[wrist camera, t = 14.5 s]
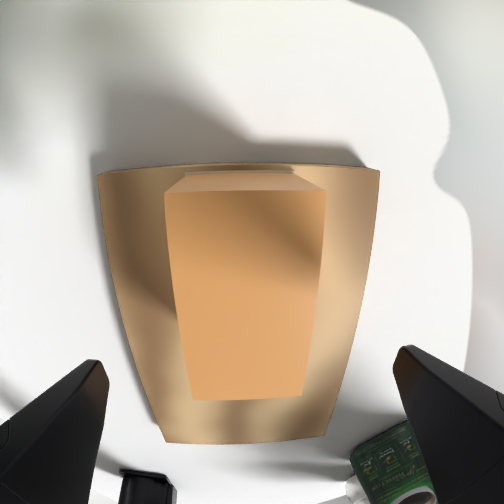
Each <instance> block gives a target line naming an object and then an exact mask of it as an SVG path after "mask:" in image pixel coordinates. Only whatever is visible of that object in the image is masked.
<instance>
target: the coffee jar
mask: <svg viewBox="0 0 504 504" xmlns="http://www.w3.org/2000/svg"><path fill="white" fill-rule="evenodd" d="M350 462H351V465H352V467H353V470H354V472H355V474H356V476H357V478H358V480H359V482H360V484H361V486H362V488H363V490H364V492H365V494H366V496H367V498H368V500H369V502H370V504H438V501H437V498H436V495H435V492H434V489H433V486H432V483H431V480H430V477H429V474H428V471H427V468H426V465H425V462H424V459H423V457H422V454H421V451H420V449H419V446H418V443H417V441H416V438H415V435H414V433H413V430H412V428H411V425H410V423H409V421H407V422H404V423H402V424H400V425H398V426H396V427H394V428H392V429H390V430H388V431H387V432H385V433H383V434H381V435H379V436H377V437H375V438H374V439H372V440H370V441H368V442H366V443H365V444H363V445H361V446H359V447H358V448H357V449H355V451H354V452H353V453H352V455H351V457H350Z"/></svg>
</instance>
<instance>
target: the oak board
mask: <svg viewBox="0 0 504 504" xmlns="http://www.w3.org/2000/svg"><path fill="white" fill-rule="evenodd" d="M232 170H284V171H296V175H298V176H300V177H302V178H303V179H305V180H307V181H309V182H311V183H313V184H315V185H317V186H318V187H320V188H322V189H324V190H326V191H327V196H326V211H325V225H324V237H323V248H322V258H321V268H320V277H319V286H318V294H317V302H316V310H315V317H314V325H313V331H312V338H311V345H310V351H309V357H308V363H307V369H306V375H305V381H304V386H303V392H302V395H300V396H291V397H280V398H268V399H251V400H193V398H192V393H191V389H190V384H189V379H188V374H187V369H186V364H185V359H184V354H183V348H182V342H181V337H180V331H179V325H178V318H177V312H176V305H175V298H174V291H173V284H172V276H171V268H170V259H169V250H168V240H167V229H166V218H165V205H164V193H165V192H166V191H167V190H168V189H170V188H171V187H172V186H173V185H175V184H176V183H177V182H178V181H180V180H181V179H182V178H184V177H185V172H199V171H232ZM379 179H380V171H379V170H375V169H371V168H366V167H354V166H340V165H323V164H300V163H213V164H189V165H173V166H159V167H147V168H136V169H126V170H117V171H109V172H105V173H102V174H99V175H98V187H99V196H100V205H101V213H102V221H103V228H104V234H105V241H106V247H107V252H108V258H109V263H110V268H111V273H112V278H113V283H114V287H115V292H116V296H117V300H118V304H119V308H120V312H121V316H122V320H123V324H124V327H125V331H126V334H127V338H128V341H129V345H130V348H131V351H132V354H133V358H134V361H135V364H136V367H137V370H138V373H139V376H140V379H141V381H142V384H143V387H144V390H145V392H146V395H147V398H148V400H149V403H150V406H151V408H152V411H153V413H154V416H155V418H156V420H157V423H158V425H159V428H160V430H161V432H162V434H163V437H164V439H165V441H166V442H167V443H182V444H252V443H267V442H278V441H288V440H296V439H304V438H311V437H317V436H324V434H325V431H326V429H327V426H328V423H329V420H330V417H331V414H332V412H333V409H334V406H335V402H336V399H337V396H338V393H339V390H340V387H341V383H342V380H343V377H344V373H345V370H346V366H347V362H348V359H349V355H350V351H351V347H352V344H353V340H354V335H355V331H356V327H357V323H358V318H359V314H360V309H361V305H362V300H363V295H364V290H365V285H366V279H367V274H368V268H369V262H370V256H371V249H372V242H373V235H374V228H375V220H376V211H377V202H378V191H379Z"/></svg>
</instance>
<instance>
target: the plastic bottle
mask: <svg viewBox="0 0 504 504" xmlns="http://www.w3.org/2000/svg"><path fill="white" fill-rule="evenodd" d="M346 494H347V496H348V498H349V500H350V502H351V503H352V504H370V502H369V500H368V498H367V496H366V494H365V492H364V490H363V488H362V486H361V484H360V482H359V480H358V478H357V476H356V475H354V476H352V477H351V478H349V479H348V481H347V483H346Z"/></svg>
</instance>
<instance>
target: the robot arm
mask: <svg viewBox="0 0 504 504" xmlns="http://www.w3.org/2000/svg"><path fill="white" fill-rule="evenodd" d="M393 374H394V377H395V380H396V384H397V387H398V390H399V393H400V397H401V400H402V404H403V407H404V410H405V413H406V415H407V418H408V420H409V423H410V425H411V428H412V430H413V433H414V435H415V438H416V441H417V443H418V446H419V449H420V451H421V454H422V457H423V459H424V462H425V465H426V468H427V471H428V474H429V477H430V480H431V483H432V486H433V489H434V492H435V495H436V498H437V501H438V504H504V394H502V393H500V392H498V391H495V390H494V389H493V388H491V387H489V386H487V385H485V384H483V383H482V382H480V381H478V380H476V379H474V378H472V377H470V376H468V375H467V374H465V373H463V372H461V371H460V370H458V369H456V368H454V367H452V366H450V365H449V364H447V363H445V362H443V361H441V360H440V359H438V358H436V357H434V356H432V355H430V354H429V353H427V352H425V351H423V350H421V349H419V348H418V347H416V346H414V345H407V346H402V347H401V348H400V349H399V351H398V354H397V357H396V359H395V362H394V364H393ZM108 392H109V379H108V376H107V374H106V372H105V369H104V367H103V365H102V363H101V362H100V361H99V360H92V359H88V360H86V361H84V362H83V363H82V364H80V365H79V366H78V367H77V368H75V369H74V370H73V371H71V372H70V373H69V374H67V375H66V376H65V377H63V378H62V379H61V380H59V381H58V382H57V383H55V384H54V385H53V386H51V387H50V388H49V389H47V390H46V391H45V392H43V393H42V394H41V395H40V396H38V397H37V398H36V399H34V400H33V401H32V402H30V403H29V404H28V405H26V406H25V407H24V408H23V409H21V410H20V411H19V412H17V413H16V414H15V415H13V416H12V417H11V418H10V420H7V421H6V422H4V423H3V424H2V425H1V426H0V504H88V500H89V494H90V489H91V483H92V478H93V472H94V467H95V463H96V458H97V453H98V449H99V444H100V440H101V436H102V431H103V426H104V419H105V412H106V405H107V398H108ZM119 473H120V474H121V475H122V477H123V481H122V486H121V491H120V497H119V502H118V504H176V499H177V490H176V489H175V487H174V486H173V485H172V484H171V482H170V481H169V479H168V477H166V476H163V475H154V474H147V473H140V472H133V471H128V470H122V469H120V470H119Z"/></svg>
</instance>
